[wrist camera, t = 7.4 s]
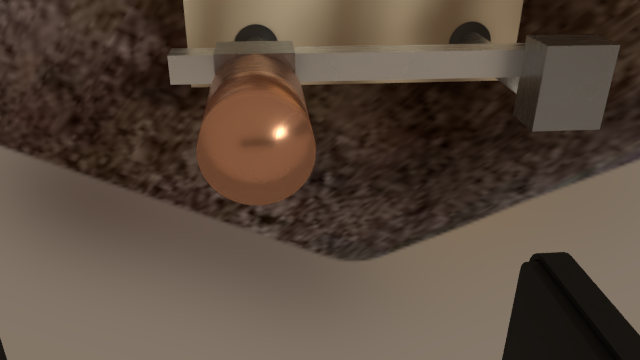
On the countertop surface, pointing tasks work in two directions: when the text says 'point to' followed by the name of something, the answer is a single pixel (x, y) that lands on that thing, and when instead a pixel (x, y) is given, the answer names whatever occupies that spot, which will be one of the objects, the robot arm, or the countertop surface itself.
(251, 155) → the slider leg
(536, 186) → the countertop surface
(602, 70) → the frame
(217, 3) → the board
